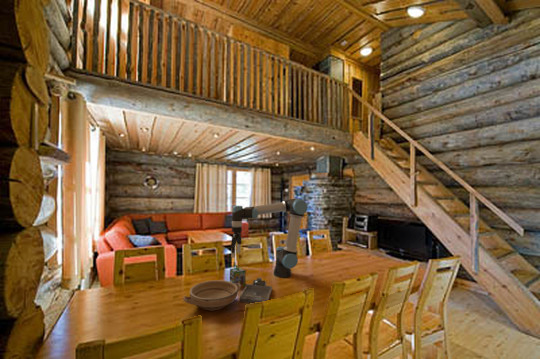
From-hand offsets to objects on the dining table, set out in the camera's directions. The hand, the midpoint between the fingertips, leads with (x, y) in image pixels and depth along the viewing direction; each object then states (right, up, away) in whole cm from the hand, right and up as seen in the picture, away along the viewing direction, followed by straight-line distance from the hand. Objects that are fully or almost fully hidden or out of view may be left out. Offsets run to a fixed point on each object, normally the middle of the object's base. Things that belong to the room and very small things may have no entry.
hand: (235, 254), depth 183 cm
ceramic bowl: (-9, -20, -36) cm, 42 cm away
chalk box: (+2, -22, -3) cm, 22 cm away
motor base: (+17, -21, -19) cm, 33 cm away
